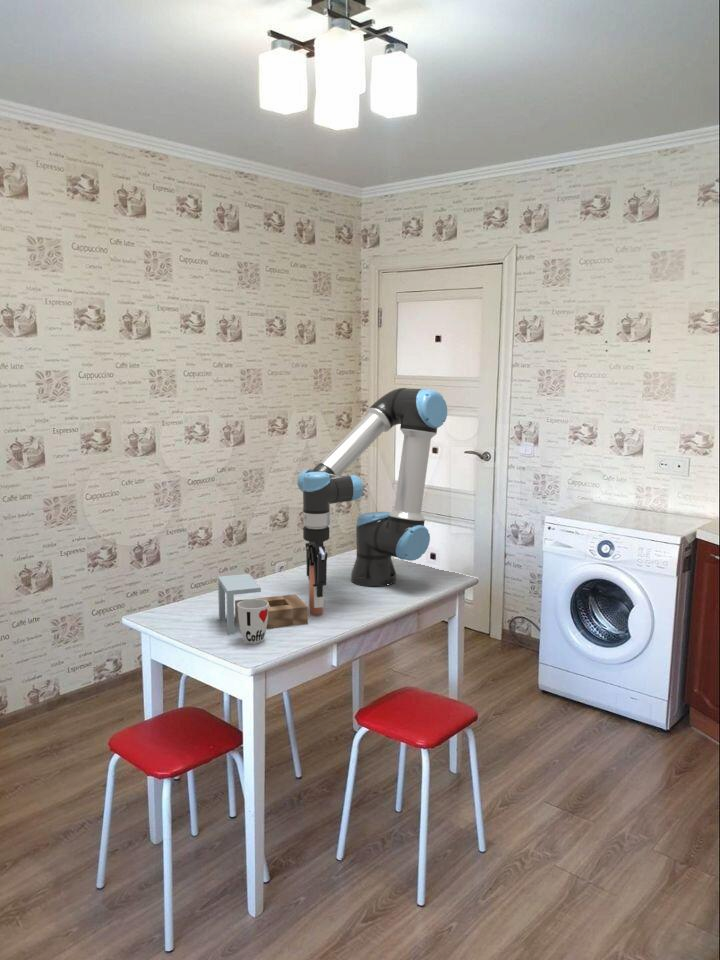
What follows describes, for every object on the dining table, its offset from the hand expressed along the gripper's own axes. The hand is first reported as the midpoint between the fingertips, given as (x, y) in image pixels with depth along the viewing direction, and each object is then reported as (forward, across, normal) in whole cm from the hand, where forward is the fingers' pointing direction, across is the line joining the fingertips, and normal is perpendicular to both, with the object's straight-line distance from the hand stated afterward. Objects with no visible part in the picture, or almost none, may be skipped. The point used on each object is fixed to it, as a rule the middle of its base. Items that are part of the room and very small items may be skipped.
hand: (316, 604), depth 220 cm
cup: (+3, +15, -22) cm, 27 cm away
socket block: (+3, +2, -14) cm, 14 cm away
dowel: (+3, 0, 0) cm, 3 cm away
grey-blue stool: (+3, +2, -23) cm, 23 cm away
